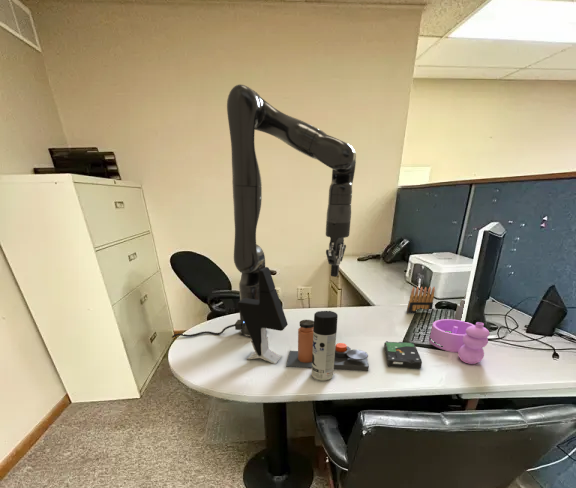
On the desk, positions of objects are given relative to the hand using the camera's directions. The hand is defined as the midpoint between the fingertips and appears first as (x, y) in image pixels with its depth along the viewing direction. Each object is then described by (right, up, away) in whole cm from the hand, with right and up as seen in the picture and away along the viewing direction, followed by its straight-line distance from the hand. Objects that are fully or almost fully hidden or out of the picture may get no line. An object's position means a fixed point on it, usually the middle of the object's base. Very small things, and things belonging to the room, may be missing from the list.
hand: (334, 276), depth 111 cm
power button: (+2, -25, -2) cm, 25 cm away
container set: (+45, -25, +6) cm, 51 cm away
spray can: (-5, -34, -10) cm, 36 cm away
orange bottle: (-10, -28, -1) cm, 30 cm away
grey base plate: (+3, -29, -3) cm, 30 cm away
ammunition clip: (+44, -6, +38) cm, 58 cm away
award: (-24, -28, 0) cm, 37 cm away
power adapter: (+58, -12, +28) cm, 65 cm away
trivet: (-10, -29, -1) cm, 30 cm away
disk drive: (+23, -28, 0) cm, 36 cm away
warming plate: (+6, -27, -6) cm, 28 cm away
